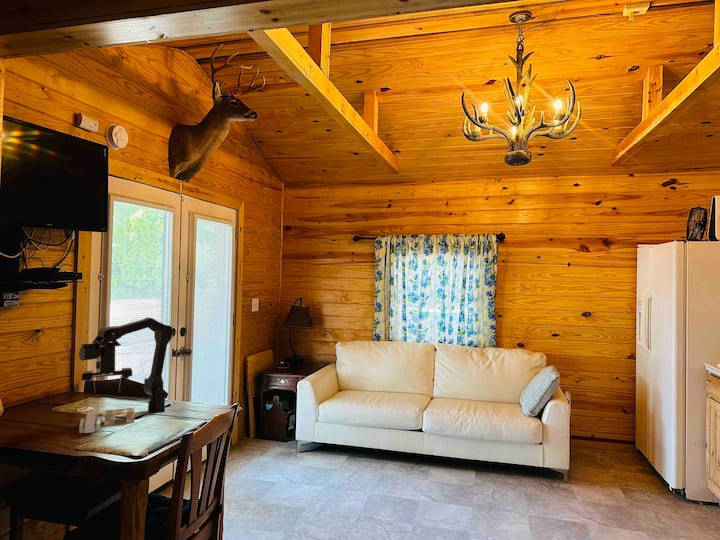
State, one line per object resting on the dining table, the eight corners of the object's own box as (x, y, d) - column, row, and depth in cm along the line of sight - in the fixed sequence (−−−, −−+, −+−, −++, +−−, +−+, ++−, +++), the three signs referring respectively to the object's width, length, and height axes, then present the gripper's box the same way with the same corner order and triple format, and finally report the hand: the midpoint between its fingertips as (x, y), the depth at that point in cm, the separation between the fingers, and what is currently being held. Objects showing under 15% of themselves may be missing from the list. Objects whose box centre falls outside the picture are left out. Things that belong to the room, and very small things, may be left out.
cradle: (100, 423, 197) (100, 416, 197) (99, 430, 188) (100, 423, 188) (81, 425, 194) (81, 418, 194) (79, 433, 185) (79, 425, 185)
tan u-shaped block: (133, 418, 206) (133, 407, 206) (134, 422, 200) (134, 411, 200) (104, 421, 201) (105, 410, 201) (104, 425, 195) (104, 414, 195)
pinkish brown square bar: (87, 420, 198) (87, 412, 198) (95, 419, 200) (96, 411, 200) (84, 433, 182) (84, 424, 182) (94, 432, 184) (94, 423, 184)
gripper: (131, 352, 212) (130, 387, 212) (82, 355, 203) (82, 392, 203) (132, 356, 202) (132, 393, 202) (81, 360, 193) (81, 398, 193)
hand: (107, 394), depth 201 cm, fingers open, 9 cm apart
